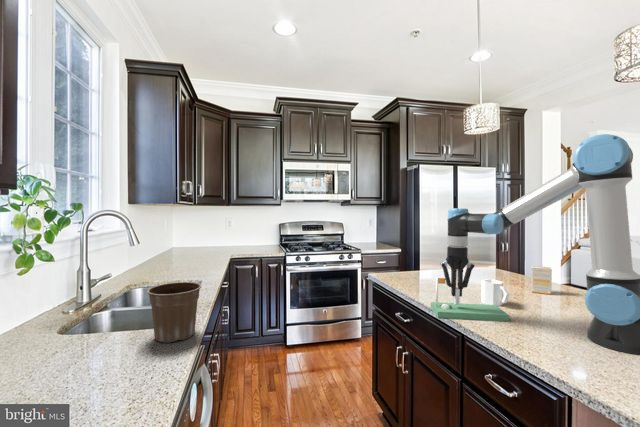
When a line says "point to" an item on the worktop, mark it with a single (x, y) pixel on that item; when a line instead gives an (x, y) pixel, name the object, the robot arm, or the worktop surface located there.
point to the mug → (493, 292)
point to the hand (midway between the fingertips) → (456, 304)
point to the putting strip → (467, 309)
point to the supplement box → (541, 279)
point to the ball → (445, 306)
